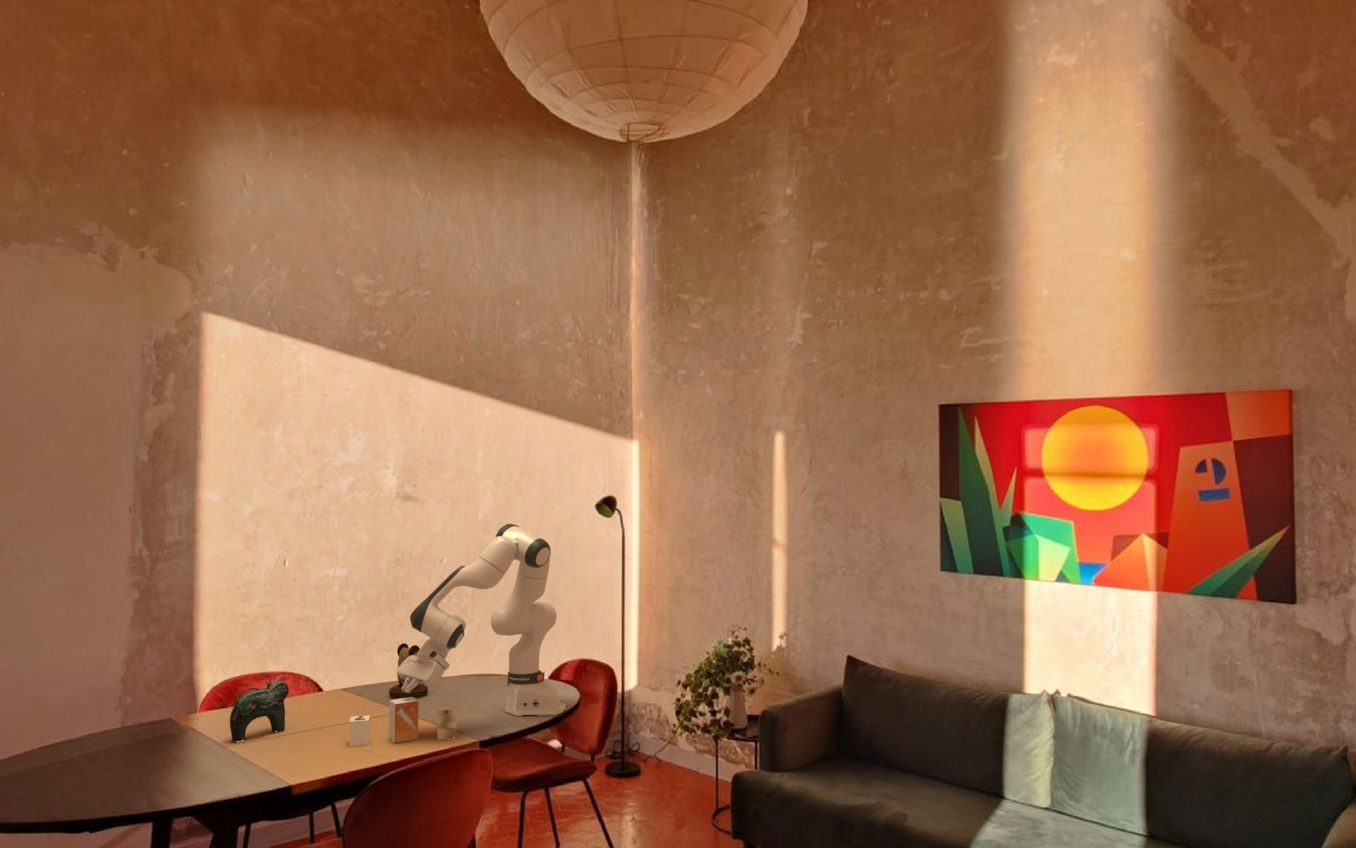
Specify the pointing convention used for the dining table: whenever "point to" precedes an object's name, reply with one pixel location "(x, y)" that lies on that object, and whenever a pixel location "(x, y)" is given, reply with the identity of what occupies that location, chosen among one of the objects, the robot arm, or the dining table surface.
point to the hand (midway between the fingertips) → (404, 691)
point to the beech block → (446, 724)
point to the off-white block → (359, 730)
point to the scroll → (396, 690)
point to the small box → (403, 719)
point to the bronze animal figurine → (259, 708)
